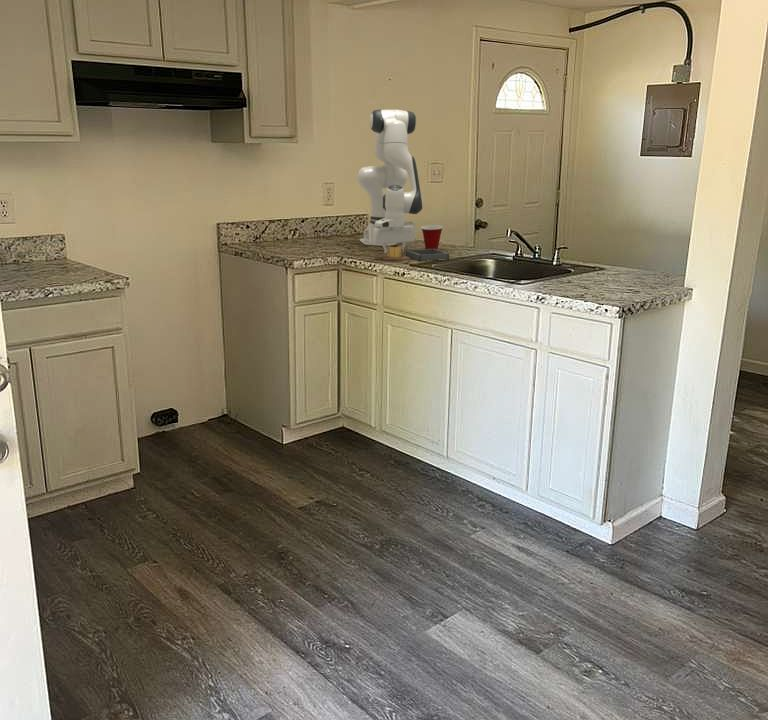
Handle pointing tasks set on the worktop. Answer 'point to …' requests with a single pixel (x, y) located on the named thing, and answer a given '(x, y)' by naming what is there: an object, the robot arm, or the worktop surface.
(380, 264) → the worktop surface
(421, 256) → the tray
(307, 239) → the worktop surface
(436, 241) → the plastic cup
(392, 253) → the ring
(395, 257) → the wooden peg stand
